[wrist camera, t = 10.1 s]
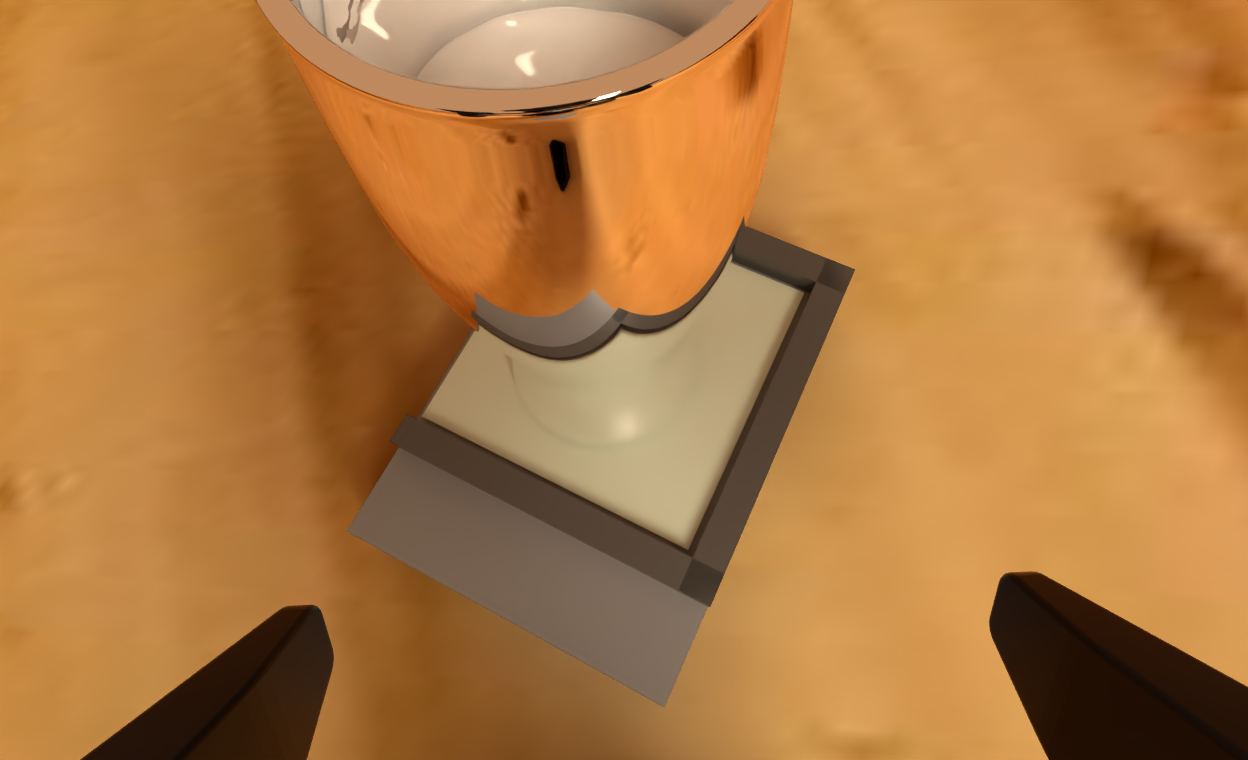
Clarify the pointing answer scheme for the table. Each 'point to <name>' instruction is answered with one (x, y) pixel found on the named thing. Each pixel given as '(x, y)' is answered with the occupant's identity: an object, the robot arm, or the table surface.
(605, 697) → the table surface
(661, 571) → the dock
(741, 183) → the beer glass
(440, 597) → the table surface
